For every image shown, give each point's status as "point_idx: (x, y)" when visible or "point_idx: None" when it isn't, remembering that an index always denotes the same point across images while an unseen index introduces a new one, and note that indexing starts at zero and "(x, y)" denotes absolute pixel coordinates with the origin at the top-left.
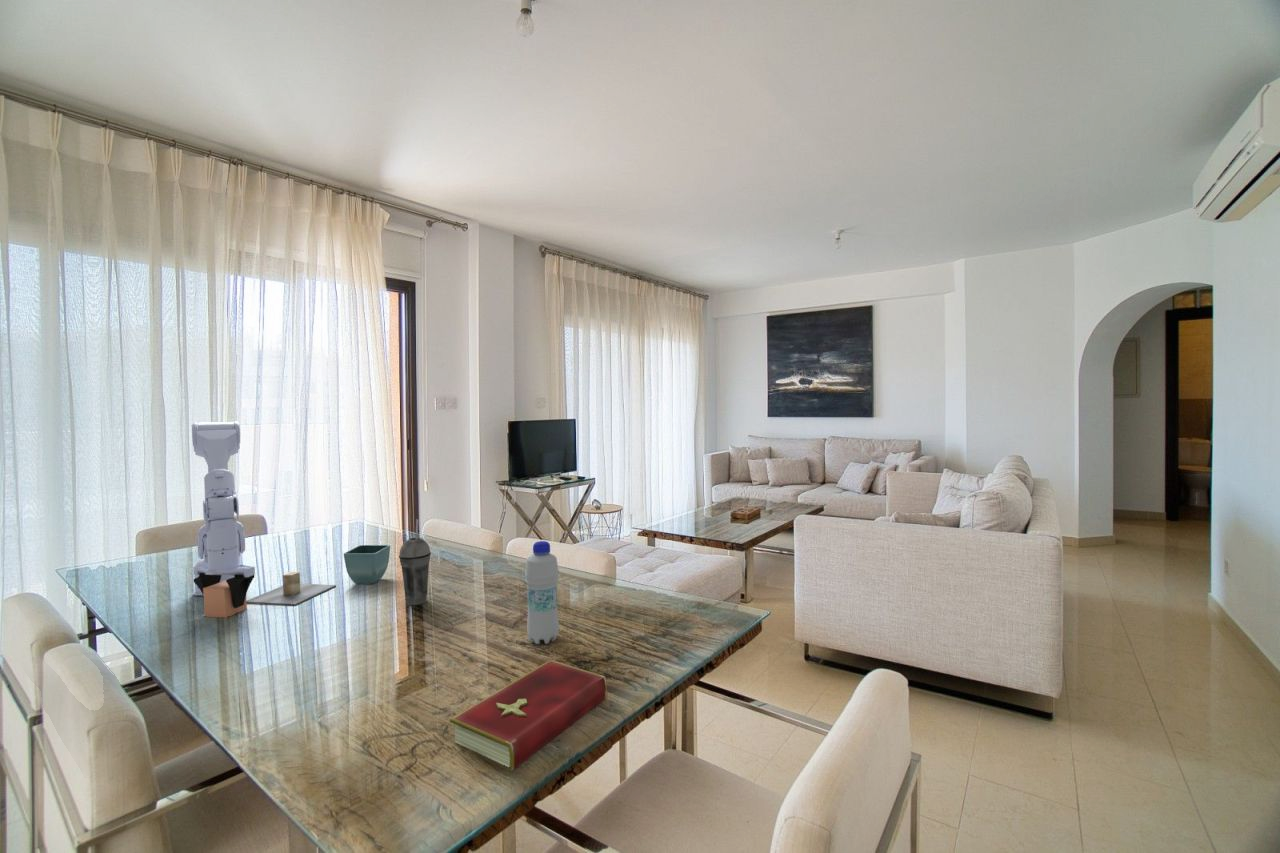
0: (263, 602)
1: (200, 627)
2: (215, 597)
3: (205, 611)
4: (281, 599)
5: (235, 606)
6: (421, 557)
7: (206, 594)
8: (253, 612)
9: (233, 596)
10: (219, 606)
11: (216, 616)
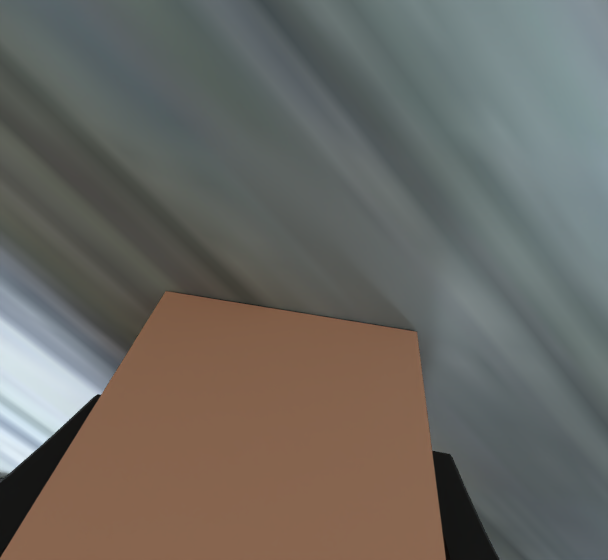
0: None
1: (188, 9)
2: (223, 502)
3: (407, 368)
4: None
5: (91, 405)
6: None
7: None
8: (41, 381)
9: (5, 504)
10: (198, 385)
11: (274, 314)
